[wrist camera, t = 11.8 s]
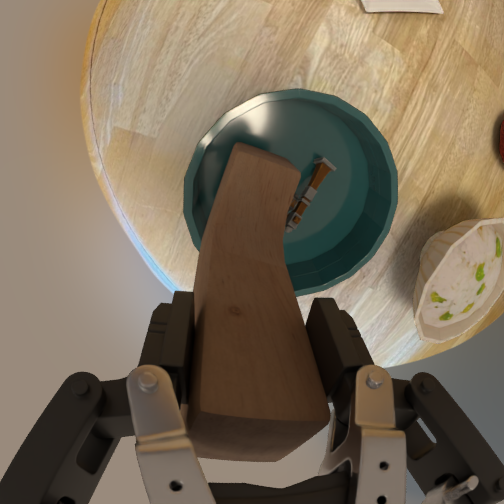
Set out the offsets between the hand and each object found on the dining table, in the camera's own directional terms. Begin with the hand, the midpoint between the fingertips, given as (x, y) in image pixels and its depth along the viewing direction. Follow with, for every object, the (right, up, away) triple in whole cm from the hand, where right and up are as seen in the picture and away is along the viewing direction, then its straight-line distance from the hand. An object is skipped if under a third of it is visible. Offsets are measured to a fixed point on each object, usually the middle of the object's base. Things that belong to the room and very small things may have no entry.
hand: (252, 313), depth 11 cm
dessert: (+15, +34, +5) cm, 37 cm away
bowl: (+27, +2, +23) cm, 36 cm away
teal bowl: (+4, +9, +17) cm, 20 cm away
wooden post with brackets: (+5, +9, +17) cm, 20 cm away
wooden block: (-1, +7, +12) cm, 13 cm away
